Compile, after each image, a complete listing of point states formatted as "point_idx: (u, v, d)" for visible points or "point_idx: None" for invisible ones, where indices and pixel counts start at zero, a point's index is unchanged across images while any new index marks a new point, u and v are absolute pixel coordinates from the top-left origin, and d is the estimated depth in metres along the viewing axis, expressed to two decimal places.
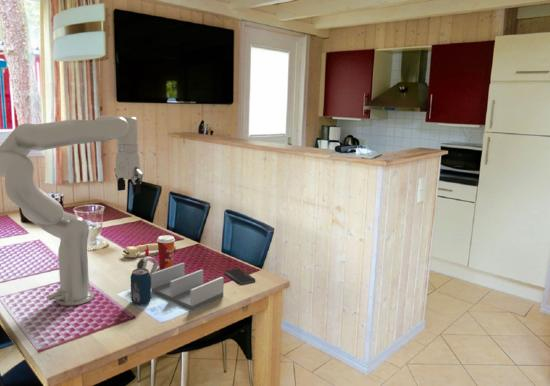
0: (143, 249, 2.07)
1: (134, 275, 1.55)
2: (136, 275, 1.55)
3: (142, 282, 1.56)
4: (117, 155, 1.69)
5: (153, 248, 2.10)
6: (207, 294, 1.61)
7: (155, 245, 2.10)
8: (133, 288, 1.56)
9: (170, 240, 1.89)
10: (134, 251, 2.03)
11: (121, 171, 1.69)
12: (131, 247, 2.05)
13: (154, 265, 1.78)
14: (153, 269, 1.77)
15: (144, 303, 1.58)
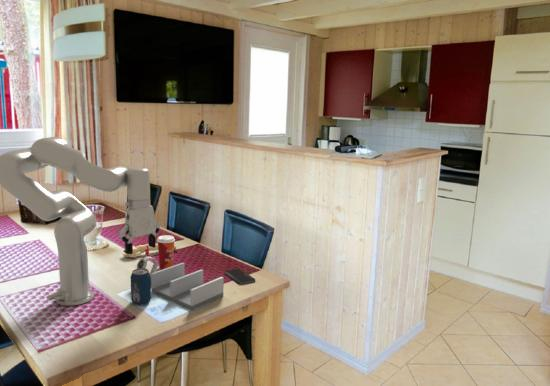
0: (143, 249, 2.07)
1: (134, 275, 1.55)
2: (136, 275, 1.55)
3: (142, 282, 1.56)
4: (136, 213, 1.49)
5: (153, 248, 2.10)
6: (207, 294, 1.61)
7: (155, 245, 2.10)
8: (133, 288, 1.56)
9: (170, 240, 1.89)
10: (134, 251, 2.03)
11: (144, 228, 1.53)
12: None
13: (154, 265, 1.78)
14: (153, 269, 1.77)
15: (144, 303, 1.58)
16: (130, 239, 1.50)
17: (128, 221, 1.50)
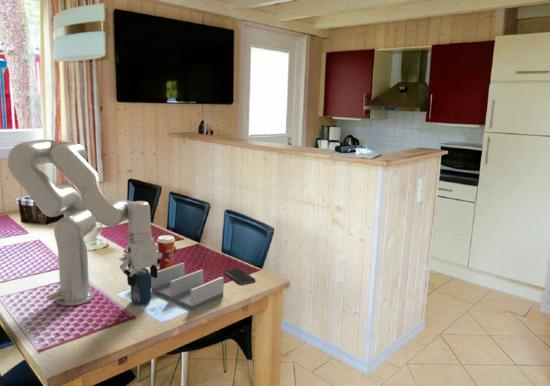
0: None
1: (134, 275, 1.55)
2: (136, 275, 1.55)
3: (142, 282, 1.56)
4: (137, 247, 1.52)
5: None
6: (207, 294, 1.61)
7: None
8: (133, 288, 1.56)
9: (170, 240, 1.89)
10: None
11: (145, 261, 1.55)
12: None
13: None
14: None
15: (144, 303, 1.58)
16: (132, 272, 1.53)
17: (130, 254, 1.52)
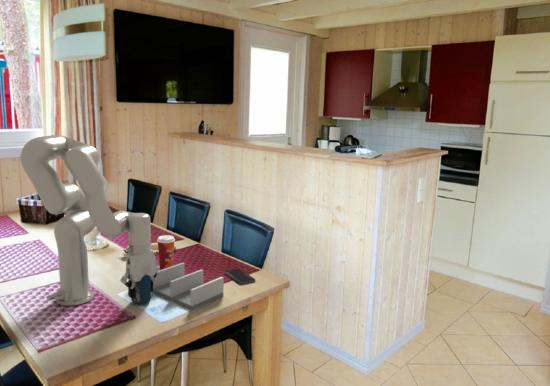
0: None
1: None
2: None
3: (142, 282, 1.56)
4: (137, 259, 1.53)
5: (153, 248, 2.10)
6: (207, 294, 1.61)
7: (155, 245, 2.11)
8: None
9: (170, 240, 1.89)
10: None
11: (144, 273, 1.56)
12: None
13: None
14: None
15: (144, 303, 1.58)
16: (133, 284, 1.55)
17: (129, 266, 1.53)
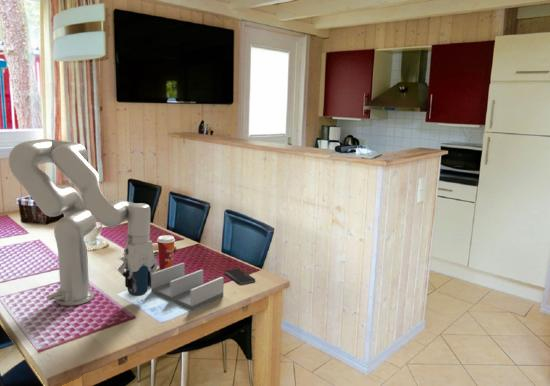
0: None
1: None
2: None
3: (140, 273, 1.55)
4: (135, 249, 1.52)
5: (154, 248, 2.10)
6: (207, 294, 1.61)
7: (155, 245, 2.11)
8: None
9: (170, 240, 1.89)
10: None
11: (142, 263, 1.55)
12: None
13: None
14: (153, 269, 1.77)
15: (140, 294, 1.57)
16: (130, 274, 1.54)
17: (127, 256, 1.52)
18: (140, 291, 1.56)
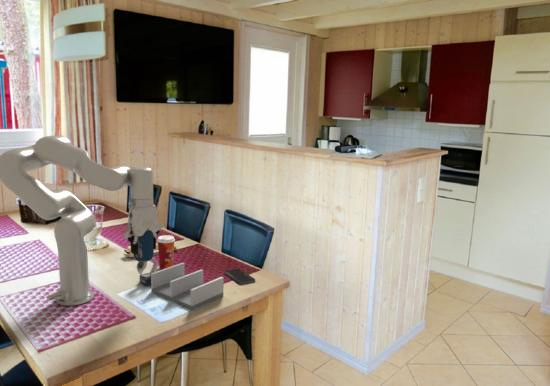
0: None
1: None
2: None
3: (145, 237, 1.52)
4: (139, 212, 1.50)
5: None
6: (207, 294, 1.61)
7: (156, 245, 2.11)
8: None
9: (170, 240, 1.89)
10: None
11: (146, 228, 1.53)
12: None
13: (154, 265, 1.78)
14: (153, 269, 1.77)
15: (147, 259, 1.55)
16: (135, 239, 1.51)
17: (131, 220, 1.50)
18: (146, 256, 1.54)
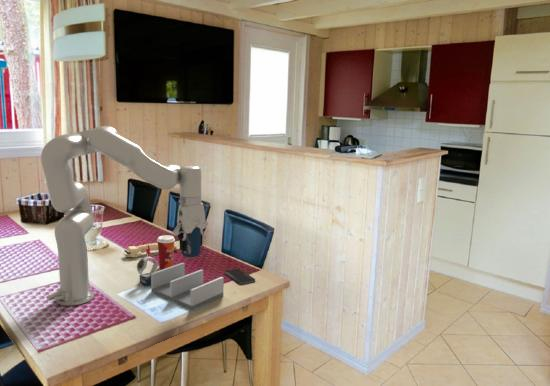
0: (144, 249, 2.07)
1: None
2: None
3: (193, 234, 1.57)
4: (189, 210, 1.54)
5: (154, 248, 2.10)
6: (207, 294, 1.61)
7: (156, 245, 2.11)
8: None
9: (170, 240, 1.89)
10: (135, 251, 2.03)
11: (195, 225, 1.57)
12: (132, 247, 2.05)
13: (154, 265, 1.78)
14: (153, 269, 1.77)
15: (195, 256, 1.59)
16: (184, 236, 1.56)
17: (181, 218, 1.54)
18: (194, 253, 1.58)
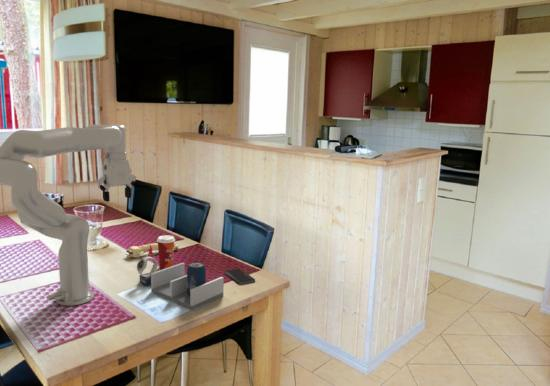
0: (146, 249, 2.07)
1: (191, 268, 1.60)
2: (193, 268, 1.60)
3: (199, 275, 1.60)
4: (113, 165, 1.68)
5: (156, 248, 2.10)
6: (207, 294, 1.61)
7: None
8: (190, 280, 1.61)
9: (170, 240, 1.89)
10: (138, 251, 2.03)
11: (120, 179, 1.71)
12: (134, 247, 2.05)
13: (154, 265, 1.78)
14: (153, 269, 1.77)
15: None
16: (107, 188, 1.69)
17: (105, 171, 1.68)
18: None
